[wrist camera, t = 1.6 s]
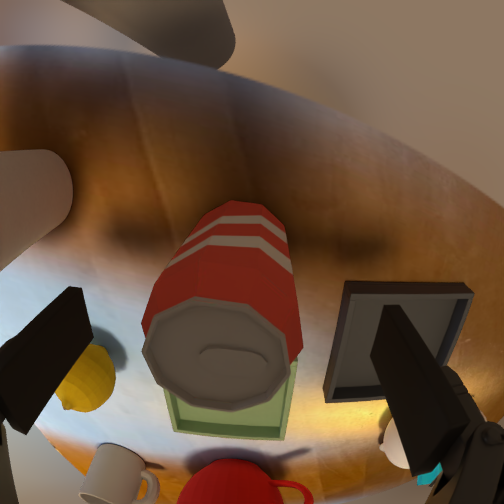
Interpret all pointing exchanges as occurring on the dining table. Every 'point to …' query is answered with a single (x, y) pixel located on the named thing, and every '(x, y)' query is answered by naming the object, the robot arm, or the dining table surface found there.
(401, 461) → the mug
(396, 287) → the charcoal tray
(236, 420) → the green tray
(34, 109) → the dining table surface
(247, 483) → the ceramic cup
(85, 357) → the fruit
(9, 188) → the coffee cup
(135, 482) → the cup
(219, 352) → the beverage can
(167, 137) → the dining table surface
